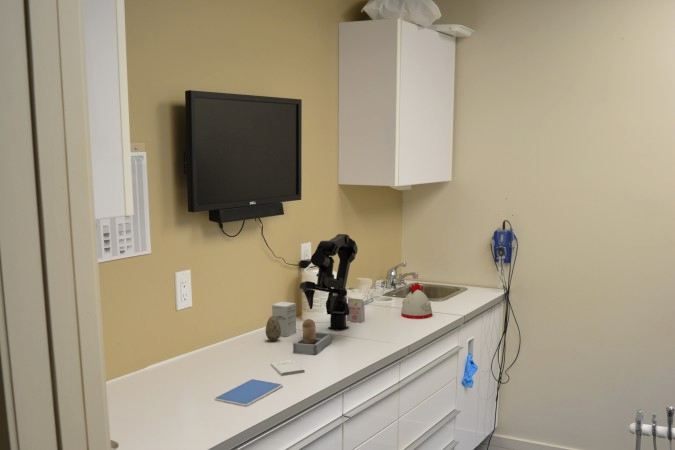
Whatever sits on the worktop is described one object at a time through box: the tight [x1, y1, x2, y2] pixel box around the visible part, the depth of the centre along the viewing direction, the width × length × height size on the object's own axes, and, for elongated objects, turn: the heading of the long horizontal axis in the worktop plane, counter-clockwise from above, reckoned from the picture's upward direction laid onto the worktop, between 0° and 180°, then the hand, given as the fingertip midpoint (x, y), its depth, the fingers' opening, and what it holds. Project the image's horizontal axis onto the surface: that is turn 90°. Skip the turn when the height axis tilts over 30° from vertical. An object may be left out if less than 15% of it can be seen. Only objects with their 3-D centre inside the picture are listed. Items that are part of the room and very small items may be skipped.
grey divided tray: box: [292, 331, 333, 356], centre depth 249 cm, size 17×9×4 cm, turn 161°
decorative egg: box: [265, 315, 281, 342], centre depth 259 cm, size 6×6×10 cm
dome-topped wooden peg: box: [302, 318, 317, 345], centre depth 244 cm, size 5×5×11 cm
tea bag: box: [346, 297, 366, 324], centre depth 288 cm, size 4×7×10 cm, turn 64°
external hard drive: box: [270, 359, 306, 377], centre depth 224 cm, size 2×8×12 cm
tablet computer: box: [213, 378, 284, 408], centre depth 201 cm, size 19×13×1 cm, turn 151°
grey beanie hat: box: [400, 282, 433, 320], centre depth 296 cm, size 14×14×15 cm
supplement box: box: [271, 301, 297, 337], centre depth 269 cm, size 7×7×13 cm
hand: (321, 310), depth 256 cm, fingers open, 9 cm apart
